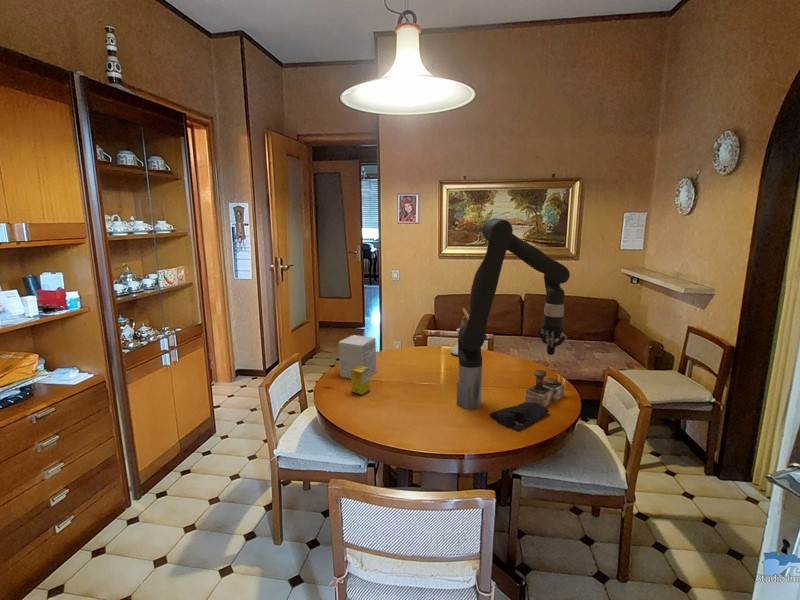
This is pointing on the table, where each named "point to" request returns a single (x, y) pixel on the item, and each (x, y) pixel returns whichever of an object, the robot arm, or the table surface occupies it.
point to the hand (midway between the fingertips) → (550, 354)
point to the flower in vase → (455, 348)
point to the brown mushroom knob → (551, 381)
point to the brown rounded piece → (539, 377)
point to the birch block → (545, 393)
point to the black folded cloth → (519, 415)
